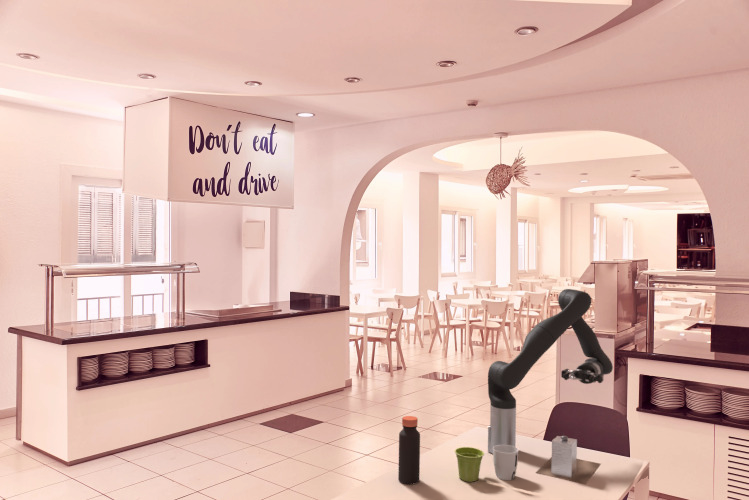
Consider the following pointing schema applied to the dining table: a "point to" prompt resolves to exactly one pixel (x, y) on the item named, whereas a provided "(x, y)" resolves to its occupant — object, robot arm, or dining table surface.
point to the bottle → (409, 451)
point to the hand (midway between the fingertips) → (577, 378)
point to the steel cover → (564, 456)
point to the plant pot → (469, 463)
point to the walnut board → (582, 471)
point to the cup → (505, 461)
